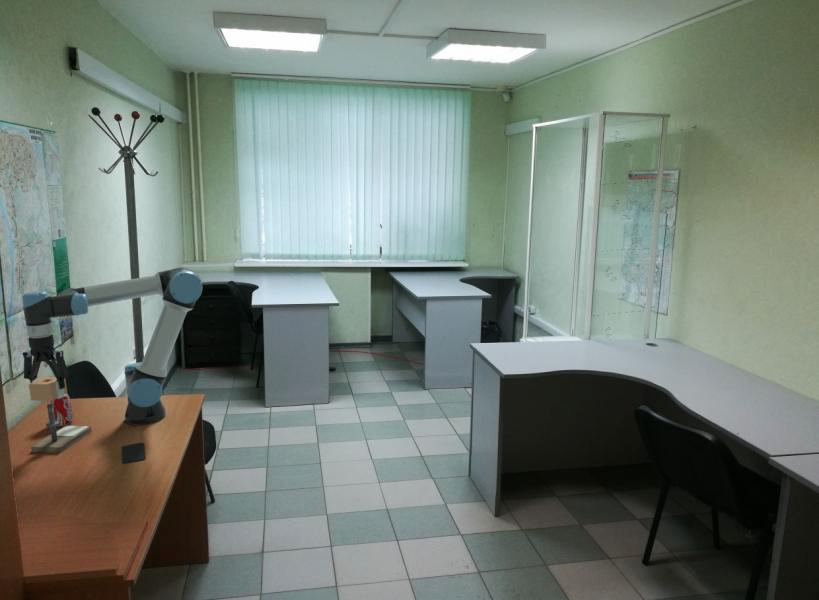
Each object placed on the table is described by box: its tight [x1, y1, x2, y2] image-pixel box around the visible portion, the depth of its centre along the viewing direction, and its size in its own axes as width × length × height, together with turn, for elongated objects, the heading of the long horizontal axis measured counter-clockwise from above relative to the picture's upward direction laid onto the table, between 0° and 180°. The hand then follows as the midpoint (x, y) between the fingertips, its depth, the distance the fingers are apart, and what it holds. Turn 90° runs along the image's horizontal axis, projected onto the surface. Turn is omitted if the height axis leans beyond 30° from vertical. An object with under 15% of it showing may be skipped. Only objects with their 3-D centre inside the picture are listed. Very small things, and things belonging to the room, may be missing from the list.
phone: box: [121, 442, 147, 465], centre depth 209 cm, size 7×1×15 cm
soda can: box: [49, 392, 74, 427], centre depth 235 cm, size 7×7×12 cm
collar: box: [28, 376, 68, 402], centre depth 212 cm, size 8×8×6 cm
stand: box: [30, 403, 93, 454], centre depth 218 cm, size 11×18×16 cm, turn 175°
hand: (49, 397), depth 212 cm, fingers closed on collar, 8 cm apart
